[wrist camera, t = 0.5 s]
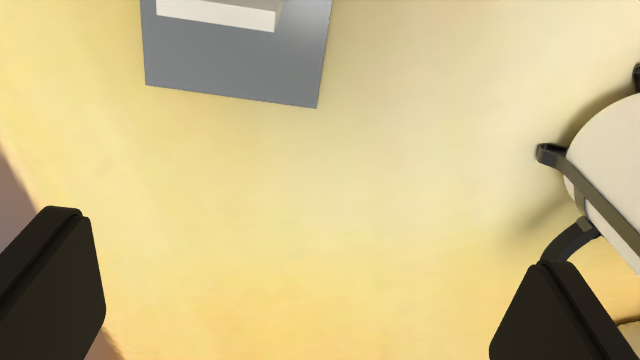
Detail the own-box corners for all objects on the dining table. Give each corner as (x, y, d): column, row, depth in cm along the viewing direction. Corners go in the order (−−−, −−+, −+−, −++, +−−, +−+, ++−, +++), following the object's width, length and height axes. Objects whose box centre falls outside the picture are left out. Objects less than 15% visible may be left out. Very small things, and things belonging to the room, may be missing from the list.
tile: (187, -23, 32) (155, -7, 26) (284, -8, 32) (275, 11, 26) (187, -4, 32) (156, 16, 26) (282, 11, 33) (273, 34, 27)
